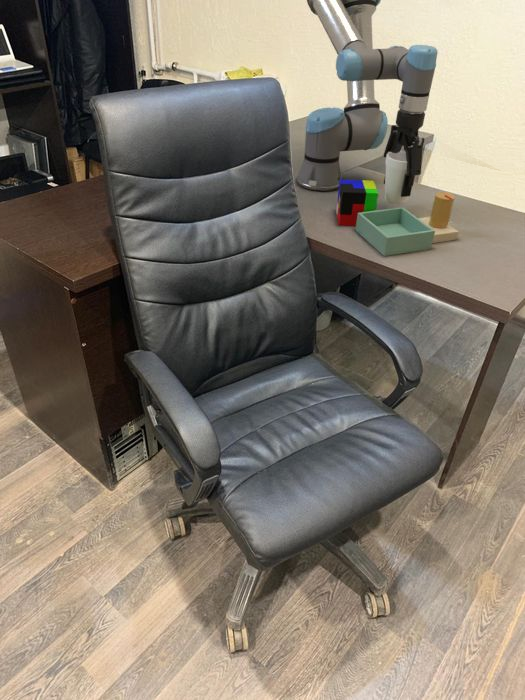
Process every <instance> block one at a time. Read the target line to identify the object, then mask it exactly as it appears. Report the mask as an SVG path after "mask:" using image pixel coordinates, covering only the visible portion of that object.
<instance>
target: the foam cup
mask: <svg viewBox="0 0 525 700" xmlns="http://www.w3.org/2000/svg"><path fill="white" fill-rule="evenodd" d="M384 161H385V162H384V164H385V172H384V178H385V184H384V195H383V196H384V197H383V198H384V201H385V202H387V203H390V204H393V205H394V204H396V205H397V204H398V205H399V204H404V203H405V202H406V199H407V197H401V192H402V187H403V182H404V177H405V174H407V161H406V151H403V150H400V152H398V153H392V152H388V153H387V156H386V157H385V160H384Z"/></svg>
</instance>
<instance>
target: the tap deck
mask: <svg viewBox="0 0 525 700" xmlns="http://www.w3.org/2000/svg"><path fill="white" fill-rule="evenodd" d="M417 218H418V217H417ZM418 219H420V220H421V221H422V222H424V223H425V224H427V225H428V226H429V227H431V228H432V229H433V230H435V234H434V238H433V243H432V244H436V243H443V242H450V241H455V240H457V238H458V234H459V230H458V229H456V228H454V227H453V226H451V225H450V224H453V222H452V221H449V222H448V226H447V227H446V228H435V227H432V226H430V225H429V220H430V216H426V217H419V218H418Z"/></svg>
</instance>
